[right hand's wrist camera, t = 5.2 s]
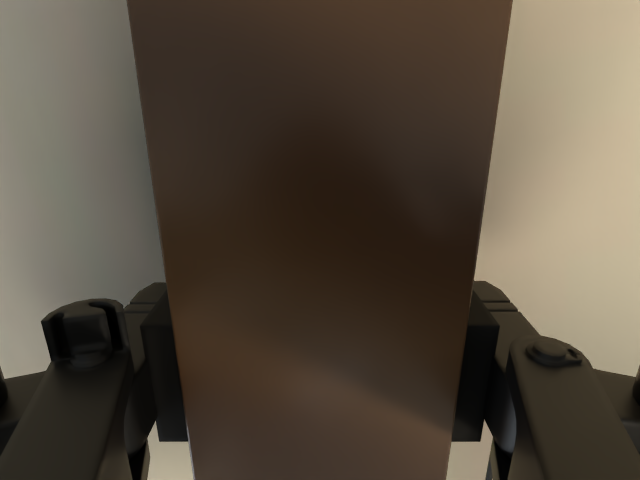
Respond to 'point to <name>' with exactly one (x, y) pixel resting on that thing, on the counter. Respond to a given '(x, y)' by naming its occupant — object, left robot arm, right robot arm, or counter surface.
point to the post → (319, 223)
